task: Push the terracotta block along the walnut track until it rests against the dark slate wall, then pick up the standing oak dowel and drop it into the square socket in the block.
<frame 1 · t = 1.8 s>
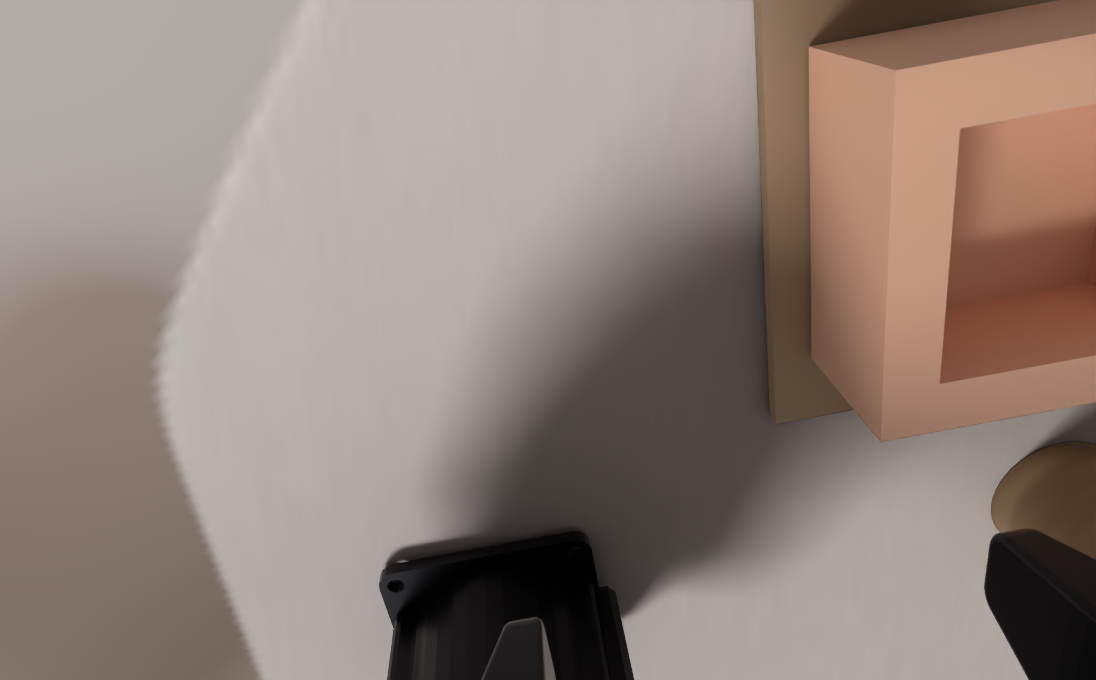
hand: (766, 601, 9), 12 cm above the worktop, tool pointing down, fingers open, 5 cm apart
dowel: (1053, 493, 24), on the worktop
slider block: (1021, 211, 17), point 3 cm above the worktop, slide at 0.0 cm
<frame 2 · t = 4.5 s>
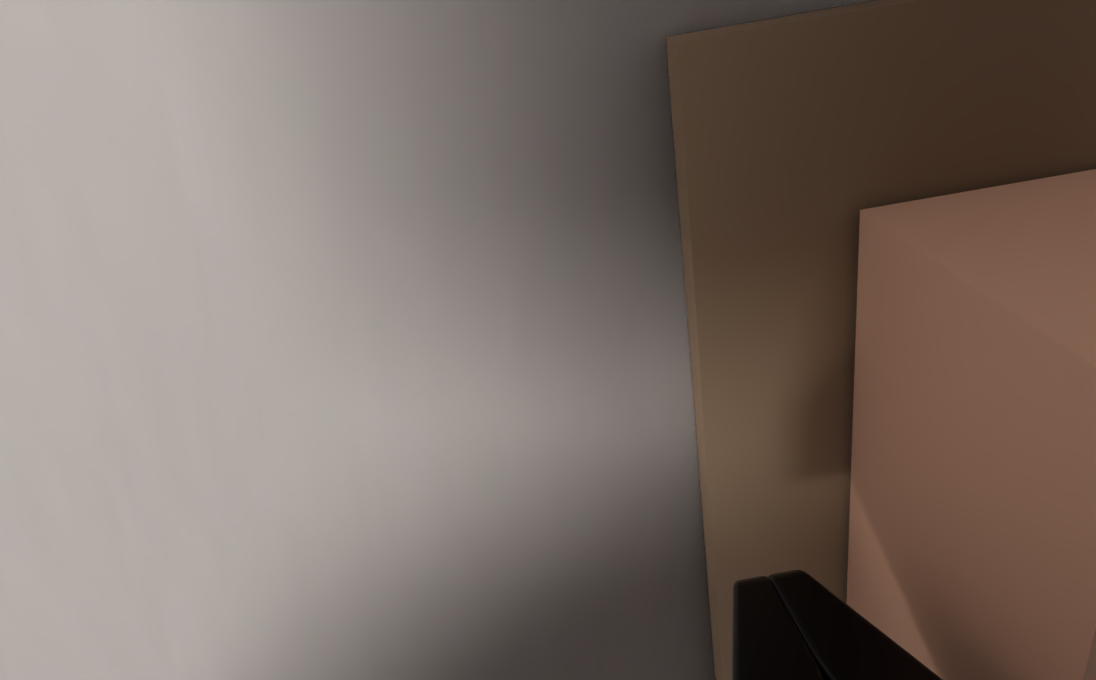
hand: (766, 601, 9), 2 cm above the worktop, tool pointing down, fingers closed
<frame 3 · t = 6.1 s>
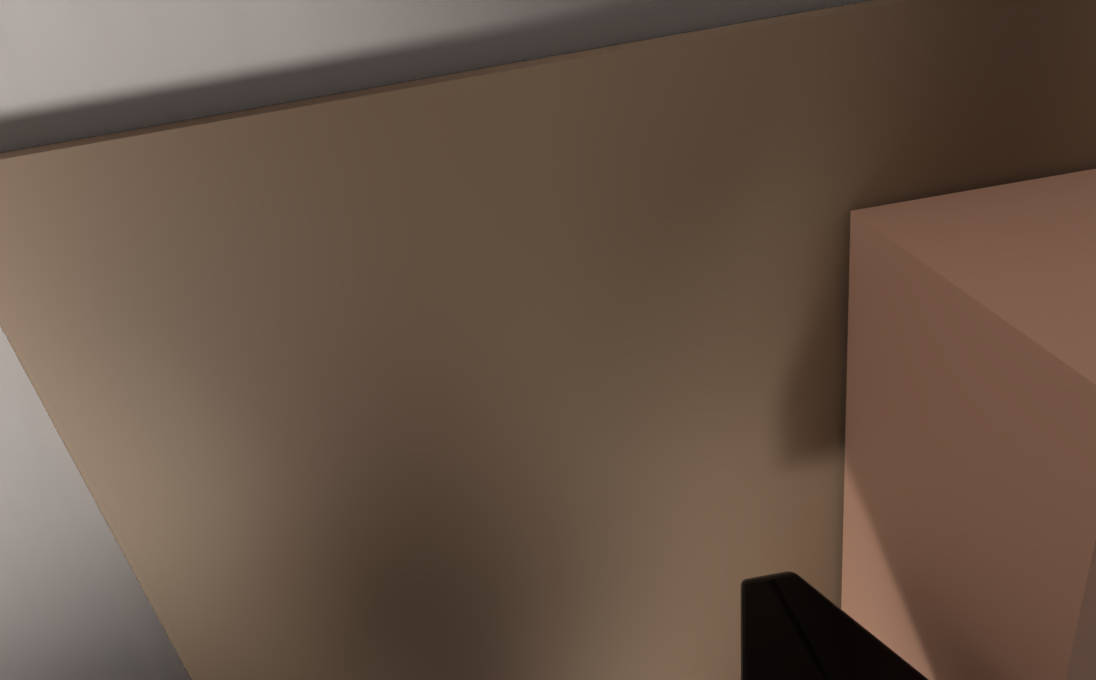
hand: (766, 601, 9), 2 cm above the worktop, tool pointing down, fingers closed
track: (879, 465, 11), on the worktop
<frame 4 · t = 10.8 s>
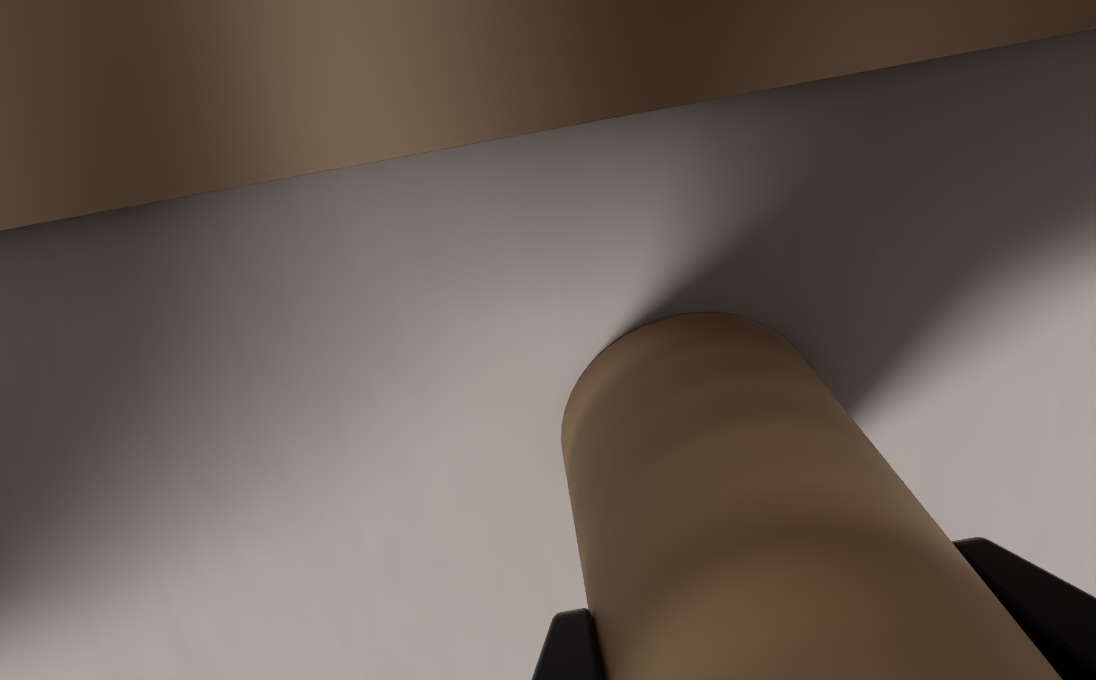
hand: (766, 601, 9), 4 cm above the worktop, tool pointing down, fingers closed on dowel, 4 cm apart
dowel: (690, 429, 12), on the worktop, touching gripper
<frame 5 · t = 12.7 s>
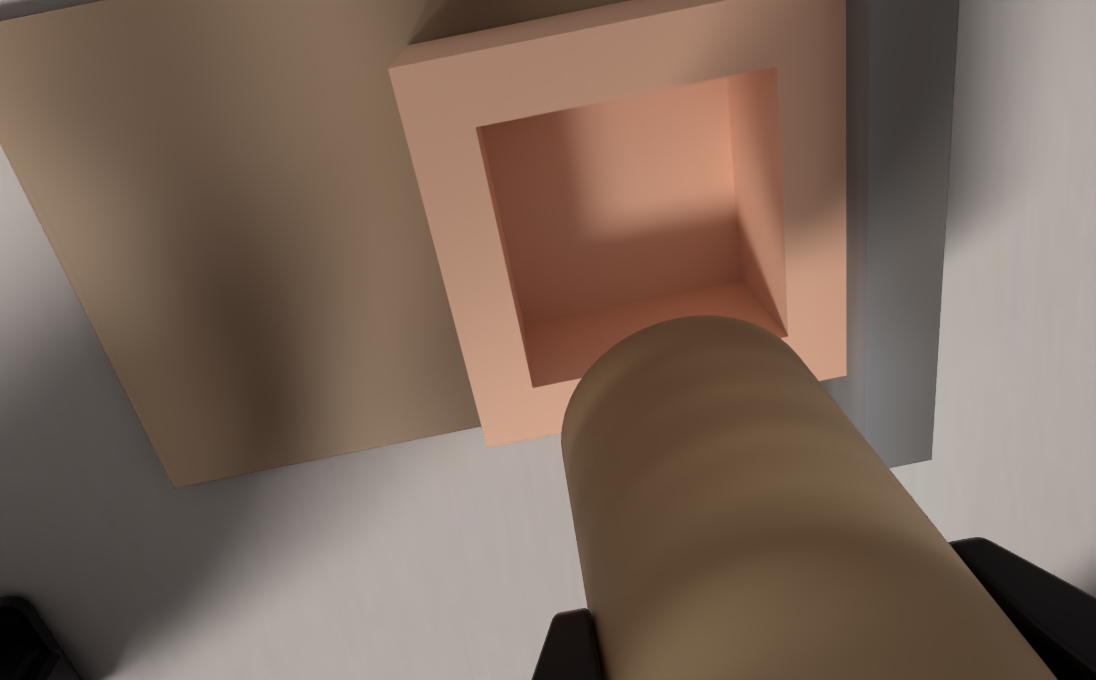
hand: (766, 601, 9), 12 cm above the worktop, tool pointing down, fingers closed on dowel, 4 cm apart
dowel: (689, 432, 12), point 9 cm above the worktop, touching gripper
slider block: (626, 210, 17), point 3 cm above the worktop, slide at 8.3 cm, touching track
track: (479, 206, 19), on the worktop
when the fingers open (6 cm above the worktop, at t = 14.7 s): dowel stays where it is, resting on slider block.
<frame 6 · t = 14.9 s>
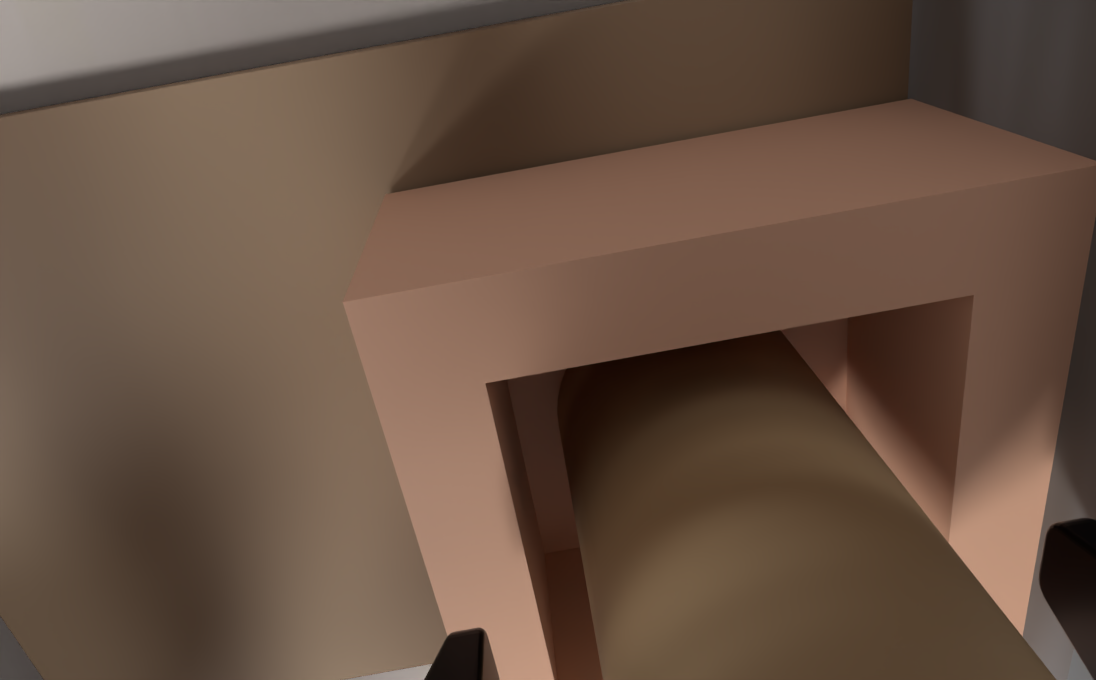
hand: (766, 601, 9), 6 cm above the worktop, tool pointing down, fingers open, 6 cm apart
dowel: (678, 402, 13), point 1 cm above the worktop, touching slider block
slider block: (700, 439, 12), point 3 cm above the worktop, slide at 8.3 cm, touching dowel, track
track: (486, 390, 14), on the worktop
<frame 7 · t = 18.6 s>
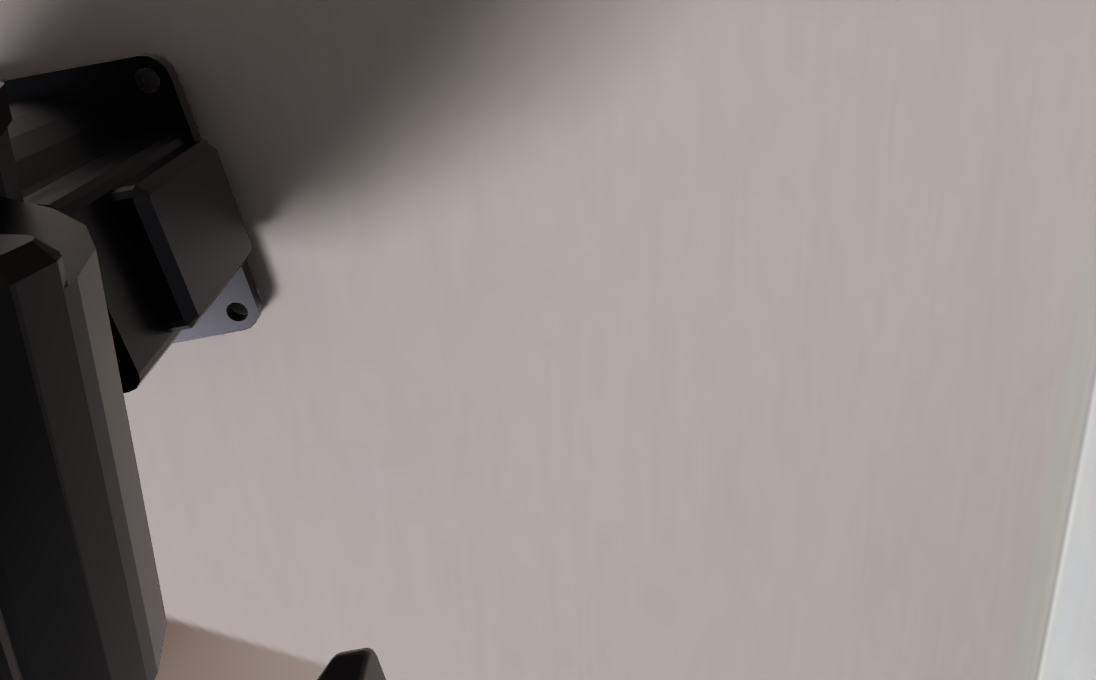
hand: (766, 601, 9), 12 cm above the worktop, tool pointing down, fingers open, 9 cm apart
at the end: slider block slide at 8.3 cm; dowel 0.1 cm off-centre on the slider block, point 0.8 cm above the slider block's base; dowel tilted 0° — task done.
